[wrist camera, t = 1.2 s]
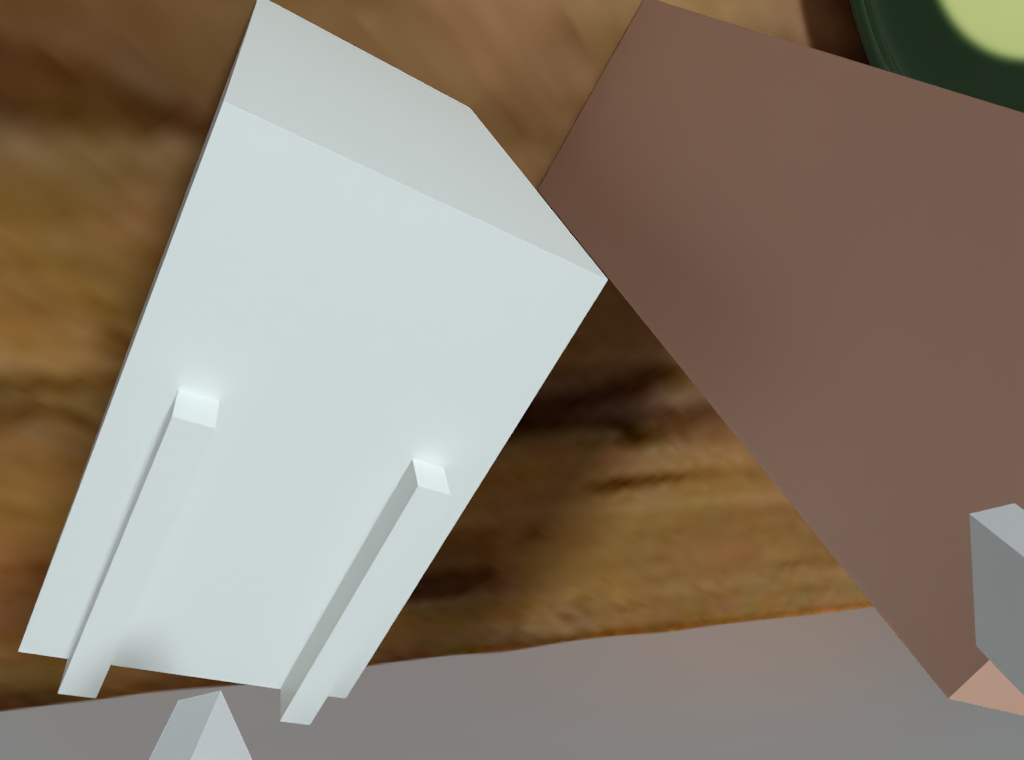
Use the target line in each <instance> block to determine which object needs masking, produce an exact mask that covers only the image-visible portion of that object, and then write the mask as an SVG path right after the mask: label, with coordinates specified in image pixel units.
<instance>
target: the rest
mask: <svg viewBox="0 0 1024 760" xmlns="http://www.w3.org/2000/svg"><path fill="white" fill-rule="evenodd" d="M607 281H608V279H607V278H606V277H605V275H604V274H603V273H602V272H601V270H600V269H599V268H598V267H597V265H596V264H595V263H594V262H593V260H592V259H591V258H590V257H589V255H588V254H587V253H586V252H585V250H584V249H583V248H582V247H581V245H580V244H579V243H578V242H577V240H576V239H575V238H574V237H573V235H572V234H571V233H570V232H569V230H568V229H567V228H566V227H565V226H564V224H563V223H562V222H561V221H560V219H559V218H558V217H557V216H556V214H555V213H554V212H553V211H552V209H551V208H550V207H549V206H548V204H547V203H546V202H545V201H544V199H543V198H542V197H541V196H540V194H539V193H538V192H537V191H536V189H535V188H534V187H533V186H532V184H531V183H530V182H529V181H528V179H527V178H526V177H525V176H524V174H523V173H522V172H521V171H520V170H519V168H518V167H517V166H516V165H515V163H514V162H513V161H512V160H511V158H510V157H509V156H508V155H507V153H506V152H505V151H504V150H503V148H502V147H501V146H500V145H499V143H498V142H497V141H496V140H495V138H494V137H493V136H492V135H491V133H490V132H489V131H488V130H487V128H486V127H485V126H484V125H483V123H482V122H481V121H480V120H479V119H478V117H477V116H476V115H475V114H474V112H473V111H472V110H471V109H470V108H469V107H468V106H466V105H464V104H462V103H460V102H458V101H456V100H455V99H453V98H451V97H449V96H447V95H445V94H443V93H441V92H440V91H438V90H436V89H434V88H432V87H430V86H428V85H426V84H425V83H423V82H421V81H419V80H417V79H415V78H413V77H412V76H410V75H408V74H406V73H404V72H402V71H400V70H398V69H397V68H395V67H393V66H391V65H389V64H387V63H385V62H383V61H382V60H380V59H378V58H376V57H374V56H372V55H370V54H368V53H367V52H365V51H363V50H361V49H359V48H357V47H355V46H354V45H352V44H350V43H348V42H346V41H344V40H342V39H340V38H339V37H337V36H335V35H333V34H331V33H329V32H327V31H325V30H324V29H322V28H320V27H318V26H316V25H314V24H312V23H310V22H309V21H307V20H305V19H303V18H301V17H299V16H297V15H296V14H294V13H292V12H290V11H288V10H286V9H284V8H282V7H281V6H279V5H277V4H275V3H273V2H271V1H269V0H257V2H256V5H255V8H254V10H253V13H252V16H251V18H250V21H249V24H248V26H247V29H246V32H245V35H244V37H243V40H242V43H241V45H240V48H239V51H238V53H237V56H236V59H235V61H234V64H233V67H232V70H231V72H230V75H229V78H228V80H227V83H226V86H225V88H224V91H223V94H222V96H221V99H220V102H219V105H218V107H217V110H216V113H215V115H214V118H213V121H212V123H211V126H210V129H209V132H208V134H207V137H206V140H205V142H204V145H203V148H202V150H201V153H200V156H199V158H198V161H197V164H196V167H195V169H194V172H193V175H192V177H191V180H190V183H189V185H188V188H187V191H186V193H185V196H184V199H183V202H182V204H181V207H180V210H179V212H178V215H177V218H176V220H175V223H174V226H173V229H172V231H171V234H170V237H169V239H168V242H167V245H166V247H165V250H164V253H163V255H162V258H161V261H160V264H159V266H158V269H157V272H156V274H155V277H154V280H153V282H152V285H151V288H150V290H149V293H148V296H147V299H146V301H145V304H144V307H143V309H142V312H141V315H140V317H139V320H138V323H137V325H136V328H135V331H134V334H133V336H132V339H131V342H130V345H129V347H128V350H127V353H126V356H125V358H124V361H123V364H122V367H121V369H120V372H119V375H118V378H117V380H116V383H115V386H114V389H113V391H112V394H111V397H110V400H109V403H108V405H107V408H106V411H105V414H104V416H103V419H102V422H101V425H100V427H99V430H98V433H97V436H96V438H95V441H94V444H93V447H92V449H91V452H90V455H89V458H88V460H87V463H86V466H85V469H84V471H83V474H82V477H81V480H80V482H79V485H78V488H77V491H76V493H75V496H74V499H73V502H72V504H71V507H70V510H69V513H68V516H67V518H66V521H65V524H64V527H63V529H62V532H61V535H60V538H59V540H58V543H57V546H56V549H55V551H54V554H53V557H52V560H51V562H50V565H49V568H48V571H47V573H46V576H45V579H44V582H43V584H42V587H41V590H40V593H39V595H38V598H37V601H36V604H35V606H34V609H33V612H32V615H31V617H30V620H29V623H28V626H27V629H26V631H25V634H24V637H23V640H22V642H21V645H20V648H19V651H18V652H24V653H31V654H38V655H45V656H52V657H59V658H66V659H68V660H67V663H66V666H65V670H64V673H63V677H62V680H61V683H60V687H59V690H58V694H65V695H73V696H81V697H89V698H96V697H97V695H98V692H99V690H100V688H101V686H102V683H103V681H104V679H105V677H106V674H107V672H108V670H109V668H110V665H115V666H122V667H129V668H136V669H143V670H150V671H157V672H164V673H171V674H178V675H185V676H192V677H199V678H206V679H213V680H220V681H227V682H234V683H241V684H248V685H255V686H262V687H269V688H276V689H280V721H281V722H289V723H298V724H306V725H310V724H311V722H312V721H313V719H314V718H315V716H316V714H317V713H318V711H319V709H320V708H321V706H322V705H323V703H324V701H325V700H326V698H327V696H332V697H339V698H346V697H347V696H348V694H349V693H350V691H351V689H352V688H353V686H354V685H355V683H356V681H357V680H358V678H359V677H360V675H361V674H362V672H363V670H364V669H365V667H366V666H367V664H368V662H369V661H370V659H371V658H372V656H373V654H374V653H375V651H376V650H377V648H378V646H379V645H380V643H381V642H382V640H383V638H384V637H385V635H386V634H387V632H388V630H389V629H390V627H391V626H392V624H393V622H394V621H395V619H396V618H397V616H398V614H399V613H400V611H401V610H402V608H403V606H404V605H405V603H406V602H407V600H408V598H409V597H410V595H411V594H412V592H413V590H414V589H415V587H416V586H417V584H418V583H419V581H420V579H421V578H422V576H423V575H424V573H425V571H426V570H427V568H428V567H429V565H430V563H431V562H432V560H433V559H434V557H435V555H436V554H437V552H438V551H439V549H440V547H441V546H442V544H443V543H444V541H445V539H446V538H447V536H448V535H449V533H450V531H451V530H452V528H453V527H454V525H455V523H456V522H457V520H458V519H459V517H460V515H461V514H462V512H463V511H464V509H465V507H466V506H467V504H468V503H469V501H470V499H471V498H472V496H473V495H474V493H475V491H476V490H477V488H478V487H479V485H480V483H481V482H482V480H483V479H484V477H485V476H486V474H487V472H488V471H489V469H490V468H491V466H492V464H493V463H494V461H495V460H496V458H497V456H498V455H499V453H500V452H501V450H502V448H503V447H504V445H505V444H506V442H507V440H508V439H509V437H510V436H511V434H512V432H513V431H514V429H515V428H516V426H517V424H518V423H519V421H520V420H521V418H522V416H523V415H524V413H525V412H526V410H527V408H528V407H529V405H530V404H531V402H532V400H533V399H534V397H535V396H536V394H537V392H538V391H539V389H540V388H541V386H542V384H543V383H544V381H545V380H546V378H547V377H548V375H549V373H550V372H551V370H552V369H553V367H554V365H555V364H556V362H557V361H558V359H559V357H560V356H561V354H562V353H563V351H564V349H565V348H566V346H567V345H568V343H569V341H570V340H571V338H572V337H573V335H574V333H575V332H576V330H577V329H578V327H579V325H580V324H581V322H582V321H583V319H584V317H585V316H586V314H587V313H588V311H589V309H590V308H591V306H592V305H593V303H594V301H595V300H596V298H597V297H598V295H599V293H600V292H601V290H602V289H603V287H604V285H605V284H606V282H607Z"/></svg>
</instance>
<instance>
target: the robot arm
mask: <svg viewBox="0 0 1024 760" xmlns="http://www.w3.org/2000/svg"><path fill="white" fill-rule="evenodd" d="M969 516H970V536H971V555H972V575H973V595H974V615H975V635H976V646H977V647H978V648H979V649H980V650H981V652H982V653H983V654H984V655H985V656H986V657H987V658H988V659H989V660H990V661H991V662H992V663H993V664H994V665H995V666H996V667H997V668H998V669H999V670H1000V671H1001V672H1002V673H1003V675H1004V676H1005V677H1006V678H1007V679H1008V680H1009V681H1010V682H1011V683H1012V684H1013V685H1014V686H1015V687H1016V688H1017V689H1018V690H1019V691H1020V692H1021V693H1022V694H1023V695H1024V510H1023V509H1022V508H1020V507H1019V506H1018V505H1016V504H1015V503H1013V504H1009V505H1005V506H1000V507H996V508H992V509H988V510H983V511H979V512H975V513H971V514H969ZM149 760H252V759H251V756H250V754H249V752H248V749H247V747H246V745H245V743H244V741H243V739H242V736H241V734H240V732H239V730H238V727H237V725H236V723H235V721H234V718H233V716H232V714H231V712H230V710H229V708H228V705H227V703H226V701H225V699H224V696H223V694H222V692H221V690H220V691H216V692H212V693H208V694H203V695H199V696H195V697H190V698H186V699H182V700H178V702H177V705H176V706H175V708H174V710H173V712H172V714H171V716H170V718H169V720H168V722H167V724H166V726H165V728H164V730H163V732H162V734H161V736H160V738H159V740H158V742H157V744H156V746H155V748H154V750H153V752H152V754H151V756H150V758H149Z"/></svg>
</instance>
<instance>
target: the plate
mask: <svg viewBox="0 0 1024 760" xmlns="http://www.w3.org/2000/svg"><path fill="white" fill-rule="evenodd" d="M848 1H849V5H850V9H851V12H852V16H853V19H854V23H855V26H856V29H857V32H858V35H859V38H860V41H861V44H862V47H863V49H864V52H865V55H866V57H867V60H868V62H869V65H870V66H872V67H875V68H879V69H882V70H885V71H888V72H892V73H895V74H898V75H901V76H905V77H908V78H911V79H915V80H918V81H921V82H924V83H928V84H931V85H934V86H937V87H941V88H944V89H947V90H950V91H954V92H957V93H960V94H964V95H967V96H970V97H973V98H977V99H980V100H983V101H986V102H990V103H993V104H996V105H999V106H1003V107H1006V108H1009V109H1012V110H1016V111H1019V112H1022V113H1024V0H848Z"/></svg>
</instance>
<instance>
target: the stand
mask: <svg viewBox="0 0 1024 760" xmlns="http://www.w3.org/2000/svg"><path fill="white" fill-rule="evenodd" d="M538 191H539V193H540V194H541V195H542V196H543V198H544V199H545V200H546V201H547V203H548V204H549V205H550V206H551V208H552V209H553V210H554V211H555V213H556V214H557V215H558V216H559V217H560V219H561V220H562V221H563V222H564V224H565V225H566V226H567V227H568V229H569V230H570V231H571V232H572V234H573V235H574V236H575V237H576V239H577V240H578V241H579V242H580V243H581V245H582V246H583V247H584V248H585V250H586V251H587V252H588V253H589V255H590V256H591V257H592V258H593V260H594V261H595V262H596V263H597V265H598V266H599V267H600V268H601V269H602V271H603V272H604V273H605V274H606V276H607V277H608V278H609V279H610V281H611V282H612V283H613V284H614V286H615V287H616V288H617V289H618V290H619V292H620V293H621V294H622V295H623V297H624V298H625V299H626V300H627V302H628V303H629V304H630V305H631V307H632V308H633V309H634V310H635V312H636V313H637V314H638V315H639V316H640V318H641V319H642V320H643V321H644V323H645V324H646V325H647V326H648V328H649V329H650V330H651V331H652V333H653V334H654V335H655V336H656V338H657V339H658V340H659V341H660V342H661V344H662V345H663V346H664V347H665V349H666V350H667V351H668V352H669V354H670V355H671V356H672V357H673V359H674V360H675V361H676V362H677V363H678V365H679V366H680V367H681V368H682V370H683V371H684V372H685V373H686V375H687V376H688V377H689V378H690V380H691V381H692V382H693V383H694V385H695V386H696V387H697V388H698V389H699V391H700V392H701V393H702V394H703V396H704V397H705V398H706V399H707V401H708V402H709V403H710V404H711V406H712V407H713V408H714V409H715V411H716V412H717V413H718V414H719V415H720V417H721V418H722V419H723V420H724V422H725V423H726V424H727V425H728V427H729V428H730V429H731V430H732V432H733V433H734V434H735V435H736V437H737V438H738V439H739V440H740V441H741V443H742V444H743V445H744V446H745V448H746V449H747V450H748V451H749V453H750V454H751V455H752V456H753V458H754V459H755V460H756V461H757V462H758V464H759V465H760V466H761V467H762V469H763V470H764V471H765V472H766V474H767V475H768V476H769V477H770V479H771V480H772V481H773V482H774V484H775V485H776V486H777V487H778V488H779V490H780V491H781V492H782V493H783V495H784V496H785V497H786V498H787V500H788V501H789V502H790V503H791V505H792V506H793V507H794V508H795V510H796V511H797V512H798V513H799V514H800V516H801V517H802V518H803V519H804V521H805V522H806V523H807V524H808V526H809V527H810V528H811V529H812V531H813V532H814V533H815V534H816V535H817V537H818V538H819V539H820V540H821V542H822V543H823V544H824V545H825V547H826V548H827V549H828V550H829V552H830V553H831V554H832V555H833V557H834V558H835V559H836V560H837V561H838V563H839V564H840V565H841V566H842V568H843V569H844V570H845V571H846V573H847V574H848V575H849V576H850V578H851V579H852V580H853V581H854V583H855V584H856V585H857V586H858V587H859V589H860V590H861V591H862V592H863V594H864V595H865V596H866V597H867V599H868V600H869V601H870V602H871V604H872V605H873V606H874V607H875V609H876V610H877V611H878V612H879V613H880V615H881V616H882V617H883V618H884V620H885V621H886V622H887V623H888V625H890V627H891V628H892V629H893V631H894V632H895V633H896V634H897V636H898V637H899V638H900V639H901V641H902V642H903V643H904V644H905V646H906V647H907V648H908V649H909V651H910V652H911V653H912V654H913V656H914V657H915V658H916V659H917V660H918V662H919V663H920V664H921V665H922V667H923V668H924V669H925V670H926V672H927V673H928V674H929V675H930V677H931V678H932V679H933V680H934V682H935V683H936V684H937V685H938V686H939V688H940V689H941V690H942V691H943V693H944V694H945V695H946V696H947V698H948V699H953V700H957V701H961V702H966V703H970V704H975V705H980V706H984V707H988V708H993V709H997V710H1002V711H1006V712H1011V713H1015V714H1020V715H1024V695H1023V694H1022V693H1021V692H1020V691H1019V690H1018V689H1017V688H1016V687H1015V686H1014V685H1013V684H1012V683H1011V682H1010V681H1009V680H1008V679H1007V678H1006V677H1005V676H1004V675H1003V673H1002V672H1001V671H1000V670H999V669H998V668H997V667H996V666H995V665H994V664H993V663H992V662H991V661H990V660H989V659H988V658H987V657H986V656H985V655H984V654H983V653H982V652H981V650H980V649H979V648H978V647H977V646H976V635H975V615H974V595H973V575H972V555H971V536H970V516H969V514H971V513H975V512H979V511H983V510H988V509H992V508H996V507H1000V506H1005V505H1009V504H1013V503H1015V504H1016V505H1018V506H1019V507H1020V508H1022V509H1023V510H1024V113H1022V112H1019V111H1016V110H1012V109H1009V108H1006V107H1003V106H999V105H996V104H993V103H990V102H986V101H983V100H980V99H977V98H973V97H970V96H967V95H964V94H960V93H957V92H954V91H950V90H947V89H944V88H941V87H937V86H934V85H931V84H928V83H924V82H921V81H918V80H915V79H911V78H908V77H905V76H901V75H898V74H895V73H892V72H888V71H885V70H882V69H879V68H875V67H872V66H869V65H866V64H862V63H859V62H856V61H852V60H849V59H846V58H843V57H839V56H836V55H833V54H830V53H826V52H823V51H820V50H817V49H813V48H810V47H807V46H803V45H800V44H797V43H794V42H790V41H787V40H784V39H781V38H777V37H774V36H771V35H768V34H764V33H761V32H758V31H755V30H751V29H748V28H745V27H741V26H738V25H735V24H732V23H728V22H725V21H722V20H719V19H715V18H712V17H709V16H706V15H702V14H699V13H696V12H692V11H689V10H686V9H683V8H679V7H676V6H673V5H670V4H666V3H663V2H660V1H657V0H643V2H642V4H641V5H640V7H639V9H638V11H637V13H636V14H635V16H634V18H633V20H632V22H631V23H630V25H629V27H628V29H627V31H626V32H625V34H624V36H623V38H622V39H621V41H620V43H619V45H618V47H617V48H616V50H615V52H614V54H613V56H612V57H611V59H610V61H609V63H608V65H607V66H606V68H605V70H604V72H603V74H602V75H601V77H600V79H599V81H598V82H597V84H596V86H595V88H594V90H593V91H592V93H591V95H590V97H589V99H588V100H587V102H586V104H585V106H584V108H583V109H582V111H581V113H580V115H579V116H578V118H577V120H576V122H575V124H574V125H573V127H572V129H571V131H570V133H569V134H568V136H567V138H566V140H565V142H564V143H563V145H562V147H561V149H560V151H559V152H558V154H557V156H556V158H555V159H554V161H553V163H552V165H551V167H550V168H549V170H548V172H547V174H546V176H545V177H544V179H543V181H542V183H541V185H540V186H539V188H538Z"/></svg>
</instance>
